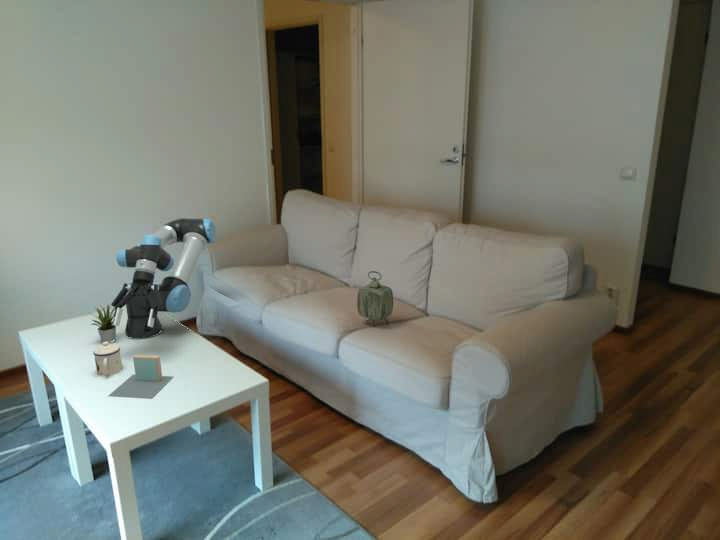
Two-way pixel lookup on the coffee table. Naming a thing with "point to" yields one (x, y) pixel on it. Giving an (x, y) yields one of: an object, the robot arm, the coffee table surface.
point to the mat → (140, 388)
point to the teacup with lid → (107, 359)
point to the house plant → (106, 325)
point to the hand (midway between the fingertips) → (133, 325)
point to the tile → (147, 367)
